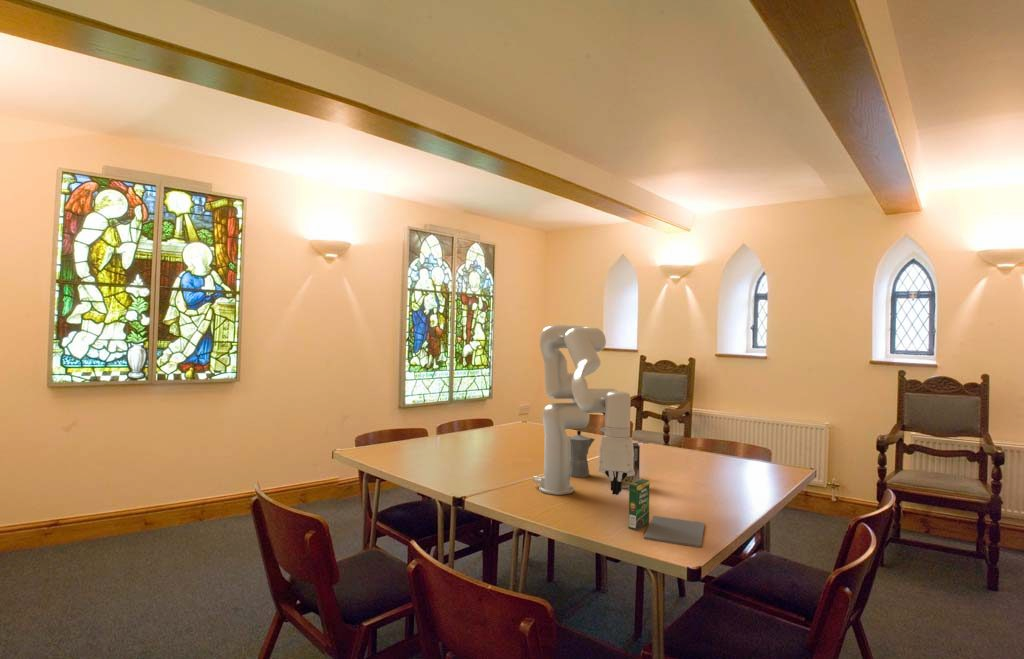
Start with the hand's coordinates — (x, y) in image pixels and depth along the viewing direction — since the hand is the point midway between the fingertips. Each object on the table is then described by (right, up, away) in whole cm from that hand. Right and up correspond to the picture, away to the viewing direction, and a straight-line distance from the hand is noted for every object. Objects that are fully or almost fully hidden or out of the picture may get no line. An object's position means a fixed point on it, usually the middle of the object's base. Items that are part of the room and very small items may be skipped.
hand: (616, 493), depth 165 cm
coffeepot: (-6, -10, +58) cm, 59 cm away
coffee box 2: (+6, -9, -3) cm, 11 cm away
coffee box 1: (+12, -10, +42) cm, 45 cm away
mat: (+16, -9, -7) cm, 19 cm away
